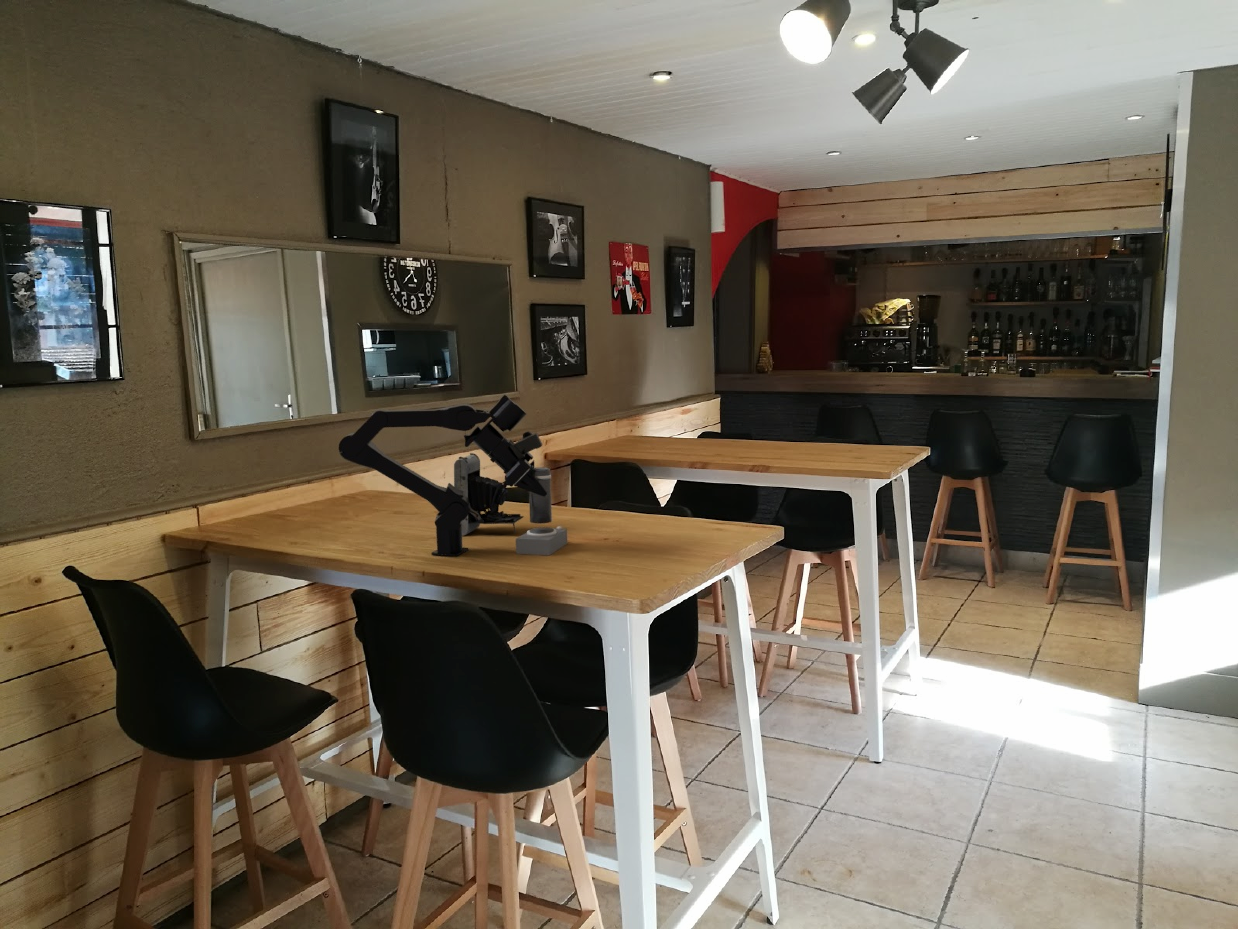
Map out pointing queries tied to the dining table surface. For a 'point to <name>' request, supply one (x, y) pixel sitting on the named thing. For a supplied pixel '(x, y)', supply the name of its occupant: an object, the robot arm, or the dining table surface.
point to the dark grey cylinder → (541, 498)
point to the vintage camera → (481, 495)
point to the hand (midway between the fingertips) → (546, 493)
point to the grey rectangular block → (541, 541)
